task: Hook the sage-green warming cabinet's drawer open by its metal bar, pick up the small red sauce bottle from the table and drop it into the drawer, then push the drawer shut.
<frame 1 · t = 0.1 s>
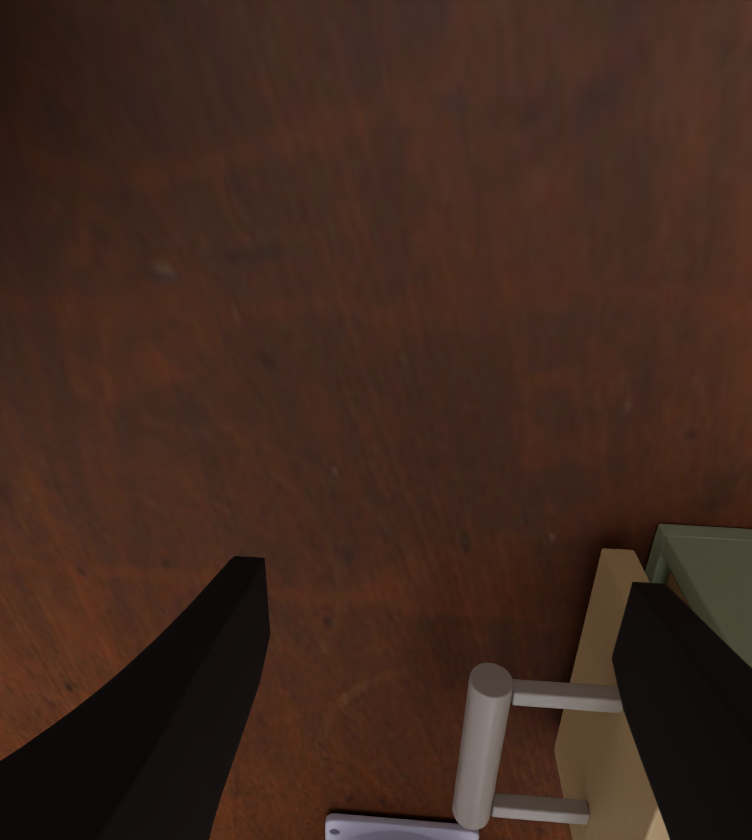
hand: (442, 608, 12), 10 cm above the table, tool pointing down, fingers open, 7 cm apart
drawer: (725, 756, 21), point 5 cm above the table, slide at 1.0 cm
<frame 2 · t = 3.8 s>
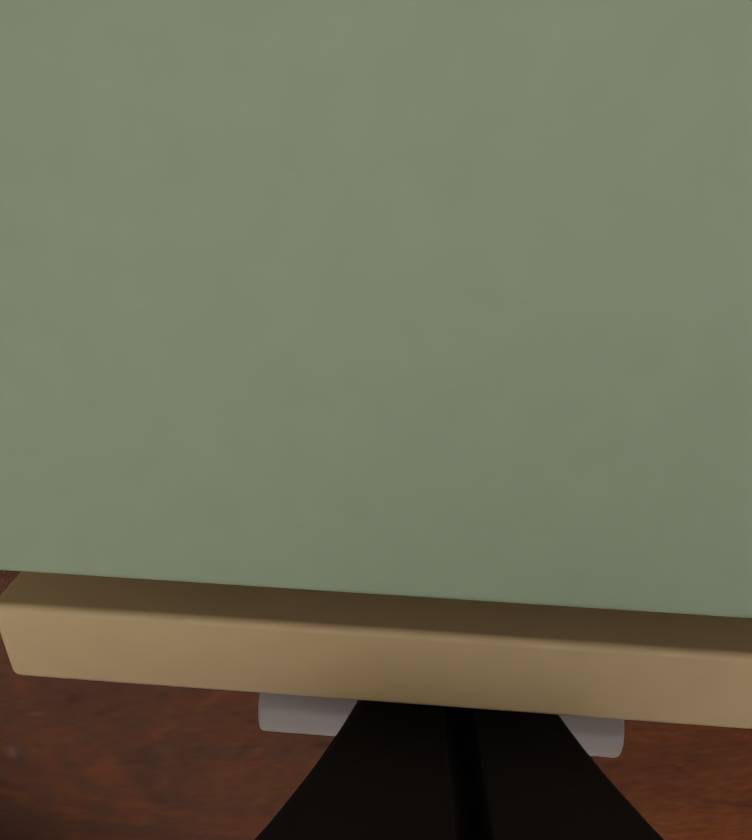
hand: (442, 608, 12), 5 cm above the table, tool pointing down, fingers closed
drawer: (474, 281, 9), point 5 cm above the table, slide at 1.4 cm
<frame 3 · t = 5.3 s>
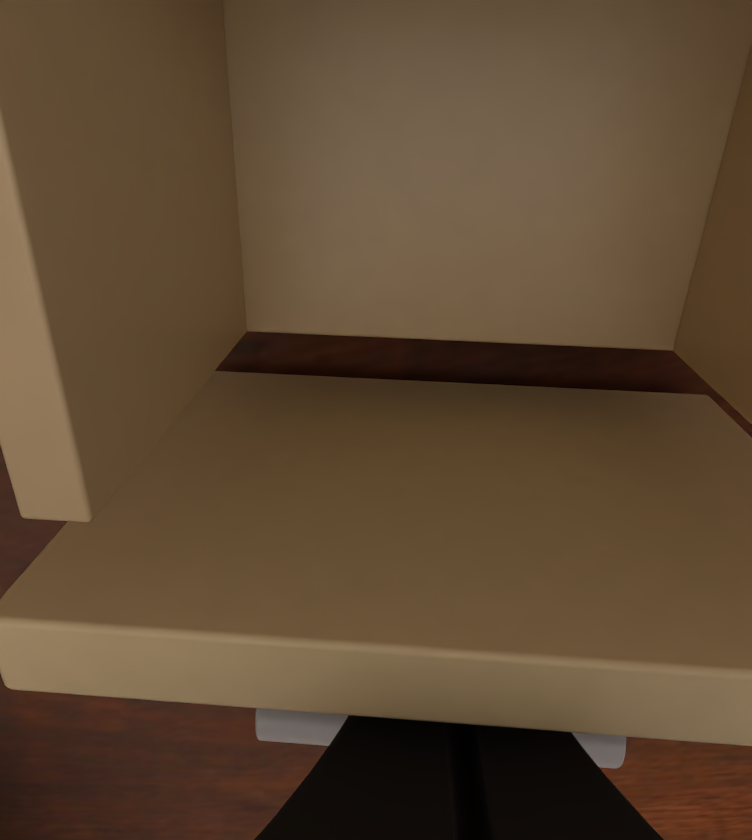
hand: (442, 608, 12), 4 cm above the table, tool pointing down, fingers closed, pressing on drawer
drawer: (475, 287, 9), point 5 cm above the table, slide at 7.3 cm, touching gripper
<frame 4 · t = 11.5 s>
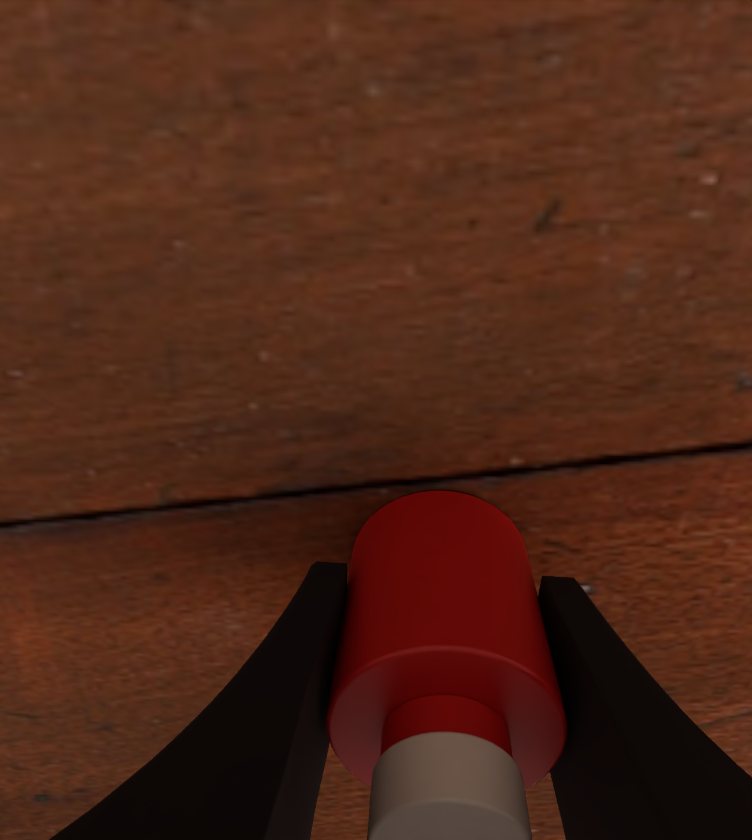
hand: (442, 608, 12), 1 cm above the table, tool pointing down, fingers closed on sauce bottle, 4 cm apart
sauce bottle: (438, 561, 13), on the table, touching gripper
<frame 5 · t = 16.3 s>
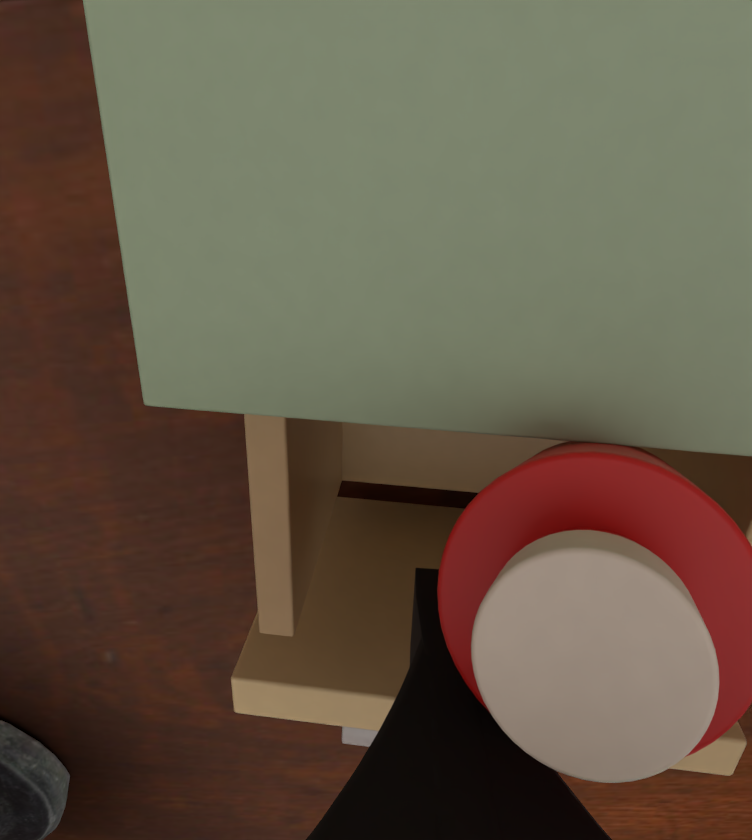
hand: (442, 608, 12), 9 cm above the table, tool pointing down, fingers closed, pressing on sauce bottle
drawer: (487, 494, 16), point 5 cm above the table, slide at 7.3 cm
sauce bottle: (594, 541, 11), point 9 cm above the table, tilted 29°, touching cabinet, gripper
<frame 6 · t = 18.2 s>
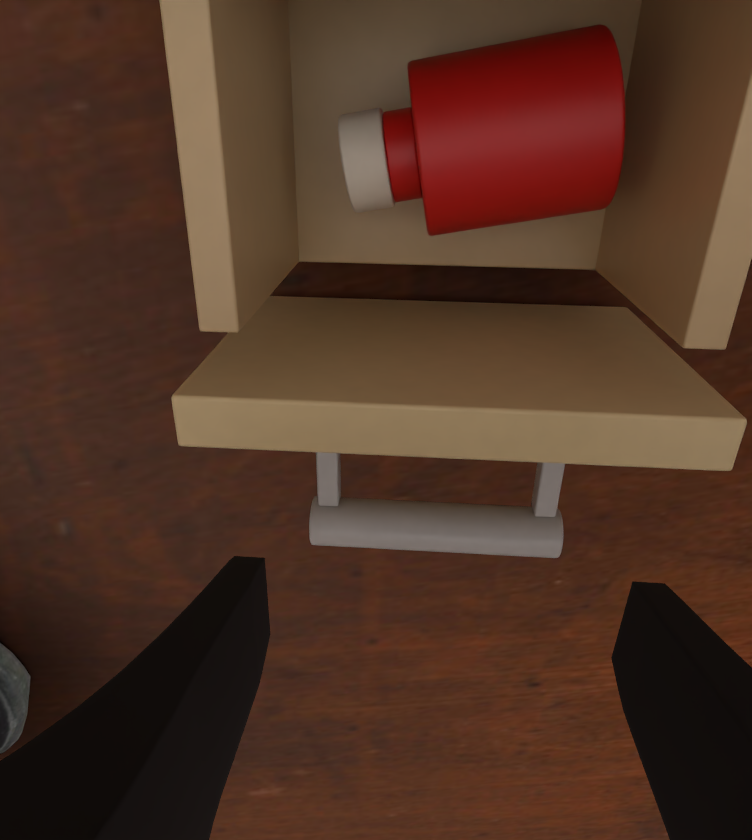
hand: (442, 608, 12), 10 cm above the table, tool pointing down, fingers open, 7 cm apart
drawer: (453, 214, 14), point 5 cm above the table, slide at 7.3 cm, touching sauce bottle
sauce bottle: (601, 121, 14), point 4 cm above the table, tilted 90°, touching drawer
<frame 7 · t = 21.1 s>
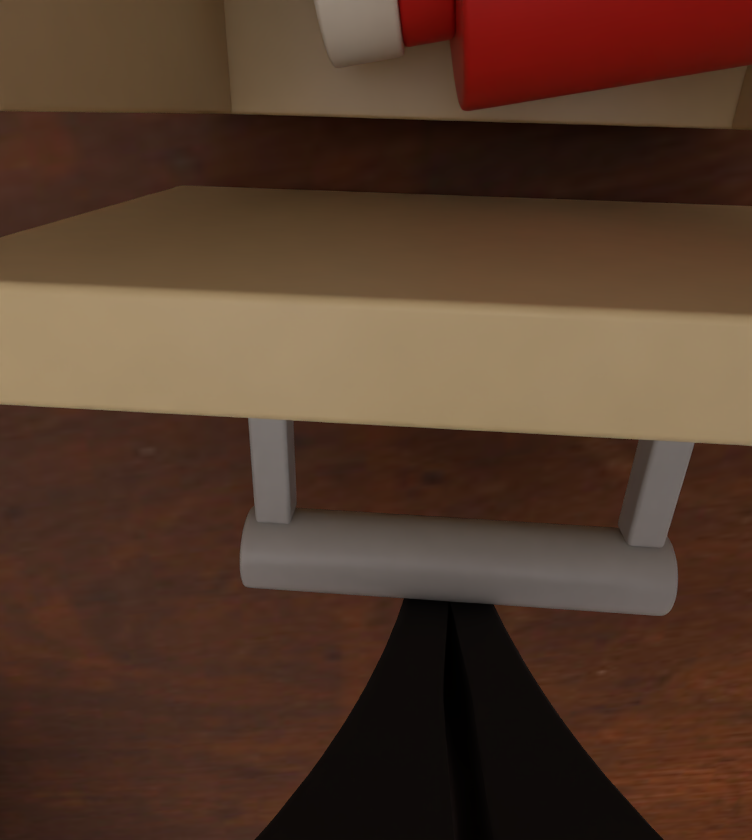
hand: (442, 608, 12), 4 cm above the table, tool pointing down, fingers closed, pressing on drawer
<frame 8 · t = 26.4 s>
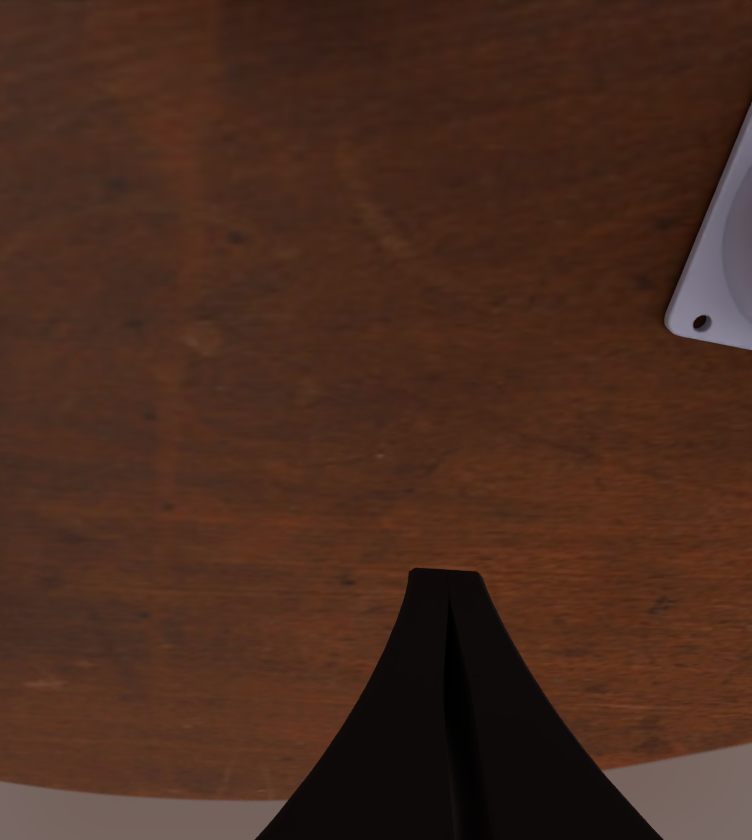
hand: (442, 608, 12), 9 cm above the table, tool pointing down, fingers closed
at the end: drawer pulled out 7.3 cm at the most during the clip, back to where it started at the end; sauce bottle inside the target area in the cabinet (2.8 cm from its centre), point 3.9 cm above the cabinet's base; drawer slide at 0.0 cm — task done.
